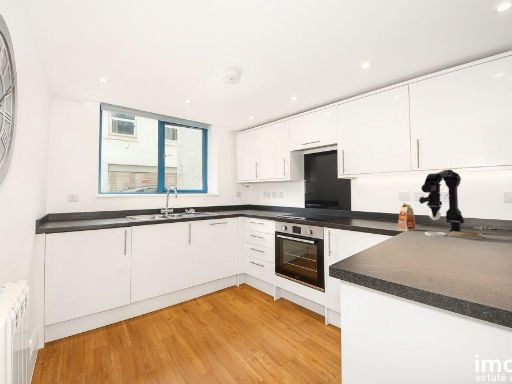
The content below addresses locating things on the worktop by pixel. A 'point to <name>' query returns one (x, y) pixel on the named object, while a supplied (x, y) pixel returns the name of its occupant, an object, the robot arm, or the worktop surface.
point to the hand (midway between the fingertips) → (434, 216)
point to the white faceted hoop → (435, 233)
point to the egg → (436, 215)
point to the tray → (466, 235)
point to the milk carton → (406, 218)
